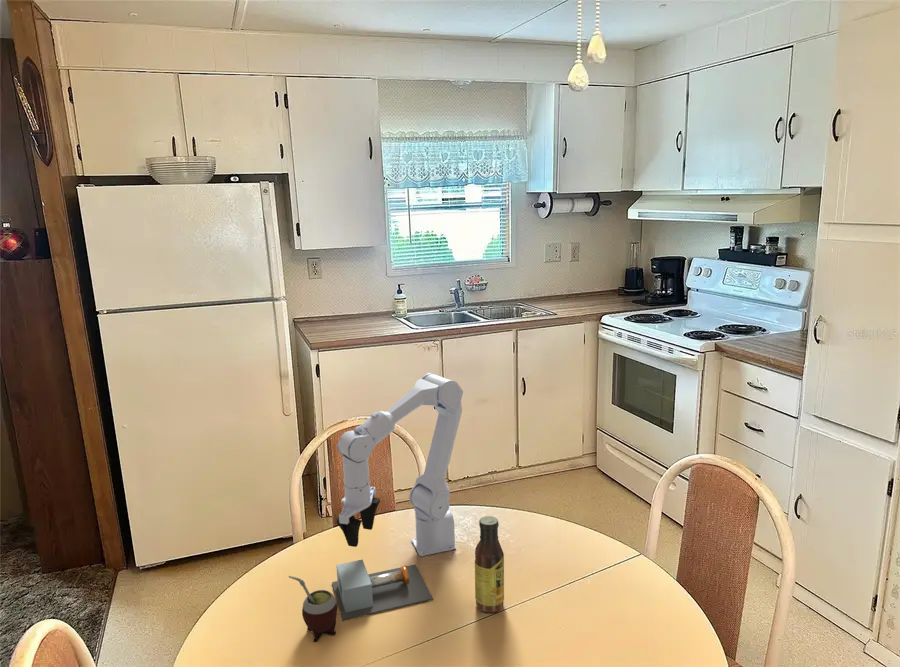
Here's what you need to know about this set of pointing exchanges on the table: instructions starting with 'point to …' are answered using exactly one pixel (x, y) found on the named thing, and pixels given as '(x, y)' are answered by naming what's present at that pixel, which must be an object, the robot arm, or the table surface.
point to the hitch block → (354, 585)
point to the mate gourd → (319, 611)
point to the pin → (391, 578)
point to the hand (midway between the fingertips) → (360, 536)
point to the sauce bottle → (489, 567)
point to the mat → (390, 594)
